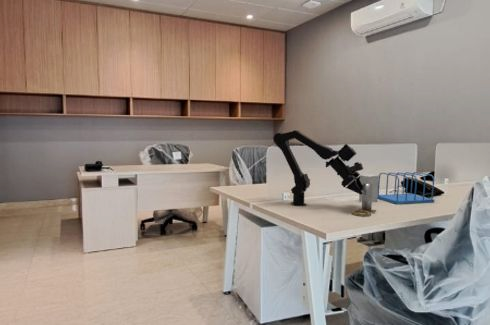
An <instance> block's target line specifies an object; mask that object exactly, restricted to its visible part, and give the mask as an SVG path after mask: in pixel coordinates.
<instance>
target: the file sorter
mask: <svg viewBox="0 0 490 325" xmlns="http://www.w3.org/2000/svg"><path fill="white" fill-rule="evenodd" d="M382 174H383V175H386V185H385V188H386V189H385V190H386V191H385V194H380V182H381V176H382ZM378 176H379V179H378V197H377V200H382V201H386V202H389V203H392V204H395V205H403V204H406V205H409V204H424V203H426V204H428V203H432V204H433V203H435V199H434V197H433V196H434V188H435V176H433V175H432V174H430V173H423V172H418V171H414V172H409V171H406V172H388V173H386V172H379V174H378ZM389 176H392V177H395V178H394V193H393V194H391V193H389V194H388V186H389ZM399 176H403V177H402V178H403V181H402V192H401V193H399V191H400V177H399ZM408 176H411V181H410V182H411V183H410V193H408V187H409V178H408ZM417 176H421V177H423V191H422V192H423V193H422V195H419V194H417V187H418V186H417V185H418V184H417V183H418V178H417ZM425 176H430V177H431V178H432V188H431V196H430V197H431V198H429V197H426V196H425V193H426V192H425V189H426V177H425ZM405 179H406V181H405ZM413 179H415V183H414V185H415V186H414V193H413V191H412V190H413V181H414V180H413ZM405 182H406V185H405ZM404 190H405V193H404Z"/></svg>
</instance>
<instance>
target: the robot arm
mask: <svg viewBox="0 0 490 325" xmlns="http://www.w3.org/2000/svg"><path fill="white" fill-rule="evenodd" d="M294 139H295V140H296V141H299V142H300V143H301V144H303V145H305V146H306V147H307V148H309V149H311V150H313V151H314V152H315V153H316V155H318V156H319V158H321V159H322V160H325V168H328V167H331V168H332V169H333V170H334V171H335V173H336V175H337V176H339V177H340V178H341V179H342V181H341V186H342V187H343V188H345V189H347V190H350V191H352V192H354V193H357V195H358V194H360V195H361V194H363V193H362V191H363V185H362V183H361V181H360V175H361V174H360V173H359V171H363V170H364V167H363V164H362V163H361V162H359V161H357V162H355V163H353V165H351V166H350V165H348V164H346V163H345V162H350V160H352V158H354V157H355V156H356V155H357V152H356V150H354V148H353V147H351V146H350V145H348V144H347V143H345V144H344V145H343V147H341V148H340V149H339V150H334V149H333V148H332V147H329V146H327V145H324V144H321V143H320V142H319V143H318V142H317V141H315V140H313V139H312V138H310V137H309V136H307V135H306V134H304V133H302V132H301V131H300V130H292V131H289V132H277V133H275V134H274V135H273V142H274V144H275V145H276V146H277V147H278V149H280V151H282V154H283V156H284V159H285V161H286V162H287V165H288V166H289V168H290V170H291V173H292V174H293V175H292V176H293V180H294V186H292V187H291V189H290V191H291V194H292V201H291V202H290V203H291V204H292V205H293V206H307V203H305V192H307V190H308V188H310V185H311V179H310V178H309V176H308V173H303V171H302V170H301V167H300V165H299V163H298V162H297V160H296V157H295V155H294V152H292V148H291V147H290V141H291V140H294ZM326 160H329V161H326ZM361 190H362V191H361Z"/></svg>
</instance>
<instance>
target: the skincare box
mask: <svg viewBox="0 0 490 325" xmlns="http://www.w3.org/2000/svg"><path fill="white" fill-rule="evenodd" d="M359 176H360V181H361V183H362V185H363V183H371V184H373V191H372V203H375V202H376V203H377V202H378V198H377V197H378V181H379V174H373V173H367V174H360V175H359ZM361 191H362V190H361ZM362 193H363V191H362ZM358 196H359V197H358V202H360V203H362V194H361V195H360V194H359V195H358Z"/></svg>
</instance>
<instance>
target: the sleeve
mask: <svg viewBox="0 0 490 325" xmlns="http://www.w3.org/2000/svg"><path fill="white" fill-rule="evenodd" d="M372 191H373V184H371V183H363V194H362V202H361V208H362V210H364V211H369V212H371V210H373V209H372V208H373V206H372V205H373V202H372Z"/></svg>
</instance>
